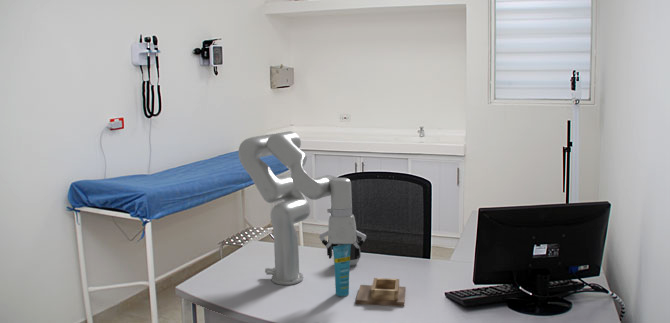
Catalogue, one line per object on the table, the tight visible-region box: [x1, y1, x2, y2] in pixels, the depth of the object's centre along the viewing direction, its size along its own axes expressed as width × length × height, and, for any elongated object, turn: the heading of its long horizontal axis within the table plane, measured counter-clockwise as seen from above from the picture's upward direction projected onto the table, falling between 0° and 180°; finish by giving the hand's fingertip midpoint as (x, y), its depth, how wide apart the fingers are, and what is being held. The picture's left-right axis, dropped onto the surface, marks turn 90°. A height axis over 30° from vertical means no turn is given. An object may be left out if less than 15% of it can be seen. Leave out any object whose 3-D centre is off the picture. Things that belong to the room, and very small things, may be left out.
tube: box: [332, 244, 351, 297], centre depth 205 cm, size 7×5×19 cm, turn 123°
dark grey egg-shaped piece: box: [337, 238, 362, 267], centre depth 236 cm, size 10×10×15 cm
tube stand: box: [355, 277, 407, 307], centre depth 203 cm, size 17×14×5 cm
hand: (343, 257), depth 203 cm, fingers open, 9 cm apart
